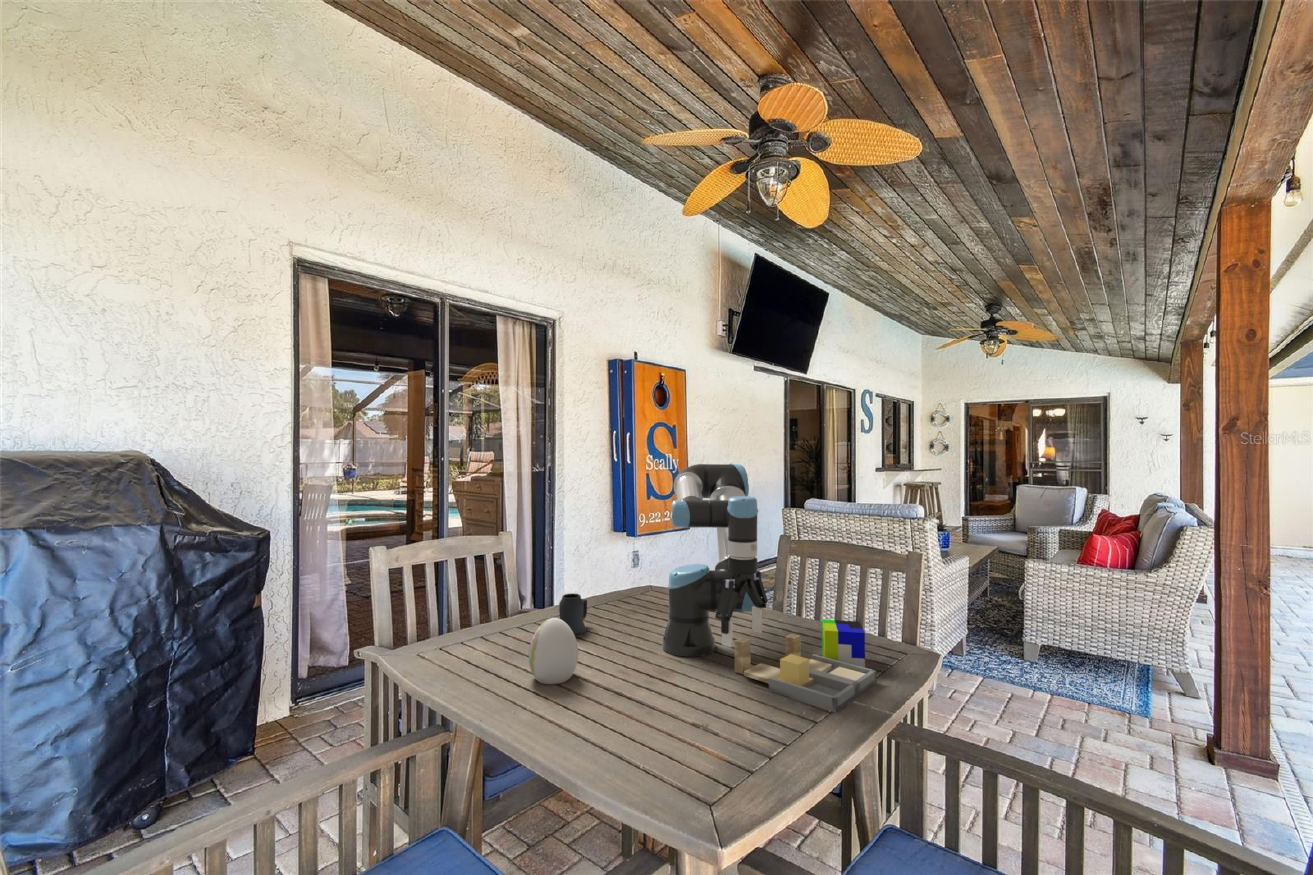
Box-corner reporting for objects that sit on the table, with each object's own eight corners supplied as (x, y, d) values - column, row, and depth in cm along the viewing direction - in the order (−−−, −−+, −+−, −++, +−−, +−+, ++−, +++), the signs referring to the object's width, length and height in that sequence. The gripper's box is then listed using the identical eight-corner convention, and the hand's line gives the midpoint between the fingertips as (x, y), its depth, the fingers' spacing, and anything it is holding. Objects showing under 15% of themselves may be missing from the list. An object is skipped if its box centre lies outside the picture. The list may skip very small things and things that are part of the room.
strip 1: (729, 674, 150) (729, 642, 150) (747, 665, 156) (747, 635, 156) (797, 696, 137) (797, 661, 137) (813, 685, 143) (813, 652, 143)
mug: (574, 637, 179) (574, 600, 179) (550, 633, 183) (550, 597, 184) (596, 627, 190) (596, 592, 190) (573, 623, 194) (573, 588, 194)
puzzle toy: (864, 671, 153) (864, 632, 153) (824, 668, 155) (824, 630, 155) (859, 658, 163) (859, 621, 163) (822, 655, 165) (822, 619, 165)
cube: (780, 680, 142) (780, 659, 142) (790, 674, 145) (790, 654, 145) (798, 686, 138) (798, 664, 138) (809, 679, 142) (809, 659, 142)
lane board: (768, 690, 141) (768, 678, 141) (813, 665, 157) (813, 653, 157) (835, 712, 129) (835, 698, 129) (876, 682, 145) (876, 670, 145)
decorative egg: (548, 665, 157) (548, 609, 157) (587, 673, 151) (587, 615, 151) (518, 682, 146) (518, 621, 146) (559, 691, 140) (559, 628, 140)
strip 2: (781, 669, 153) (781, 638, 153) (796, 661, 159) (796, 631, 159) (817, 680, 146) (817, 648, 146) (832, 671, 152) (831, 640, 152)
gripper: (726, 567, 141) (725, 655, 141) (780, 551, 159) (780, 629, 159) (701, 562, 146) (701, 648, 146) (756, 547, 164) (756, 623, 164)
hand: (742, 638), depth 153 cm, fingers open, 13 cm apart
